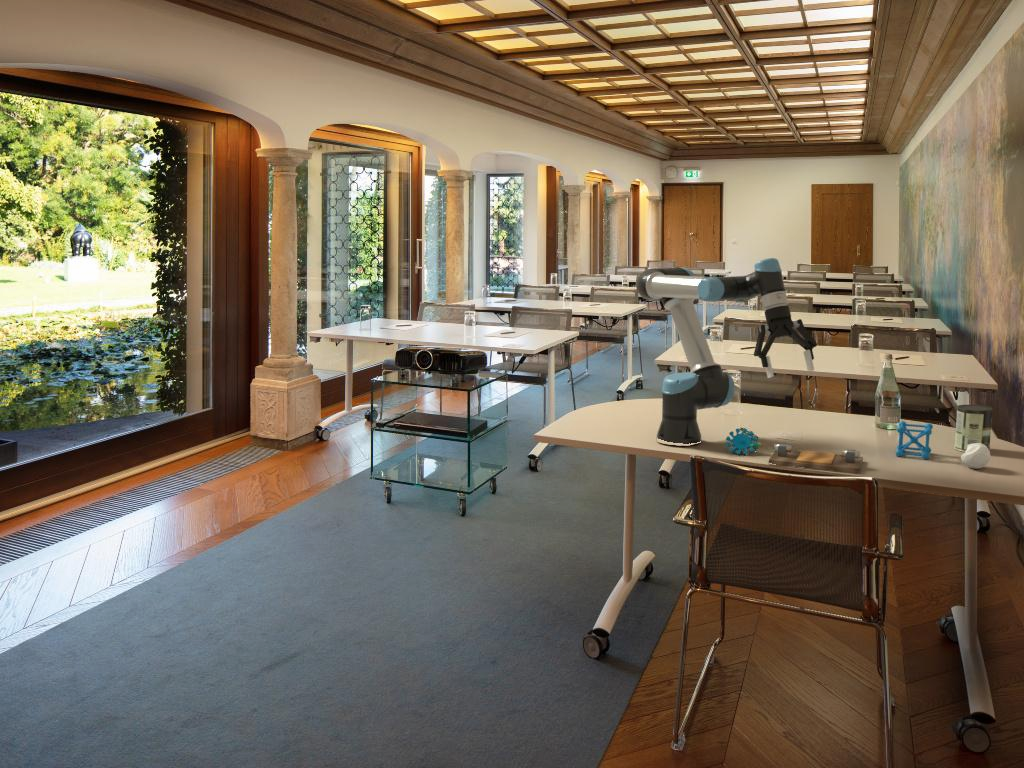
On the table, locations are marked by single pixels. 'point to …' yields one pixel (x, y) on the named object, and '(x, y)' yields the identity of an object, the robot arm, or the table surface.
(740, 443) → the virus model
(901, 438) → the molecular structure
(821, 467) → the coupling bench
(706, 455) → the table surface
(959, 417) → the coffee can
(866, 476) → the table surface
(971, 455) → the crumpled paper ball
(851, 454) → the shaft pair
